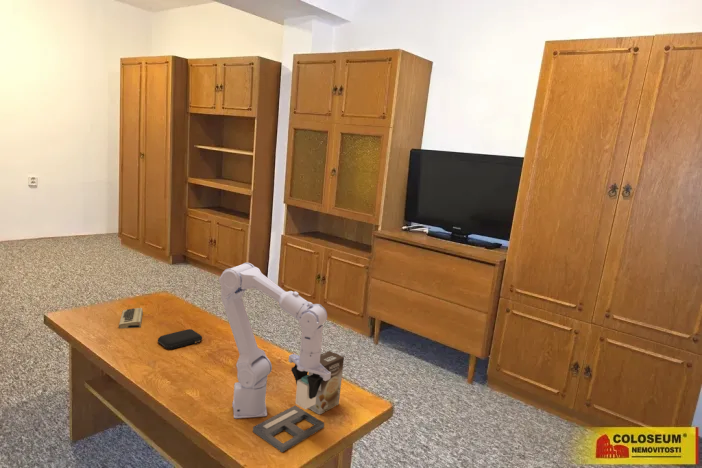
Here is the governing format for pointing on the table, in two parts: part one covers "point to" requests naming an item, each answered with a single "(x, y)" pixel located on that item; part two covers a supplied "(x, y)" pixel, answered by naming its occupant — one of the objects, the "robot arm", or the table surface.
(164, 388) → the table surface
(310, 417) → the panel
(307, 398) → the plug
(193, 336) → the carrying case or bag
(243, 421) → the table surface
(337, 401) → the coffee box
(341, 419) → the table surface
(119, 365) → the table surface
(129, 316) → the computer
